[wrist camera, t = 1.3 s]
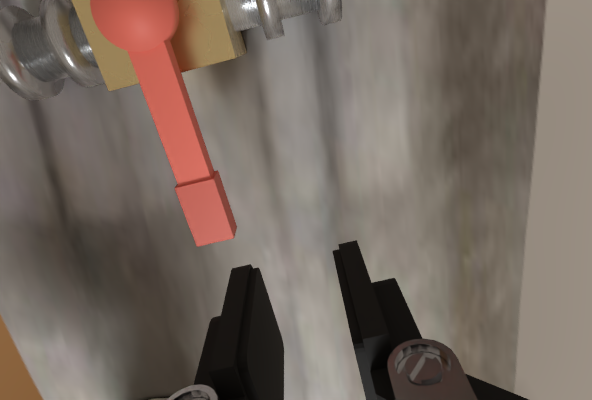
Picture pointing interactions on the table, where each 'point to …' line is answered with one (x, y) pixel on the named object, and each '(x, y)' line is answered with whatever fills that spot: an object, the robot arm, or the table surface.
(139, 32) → the lever
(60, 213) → the table surface
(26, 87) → the ball valve
